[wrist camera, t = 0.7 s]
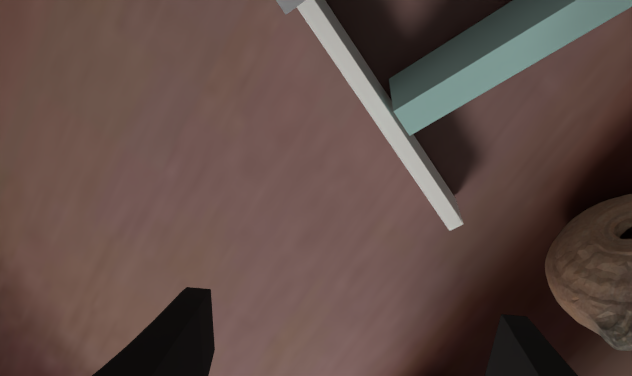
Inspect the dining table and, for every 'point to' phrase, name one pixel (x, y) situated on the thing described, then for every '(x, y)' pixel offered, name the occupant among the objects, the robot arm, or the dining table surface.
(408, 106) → the panel
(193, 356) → the robot arm
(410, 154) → the pusher lane
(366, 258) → the dining table surface
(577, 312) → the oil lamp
